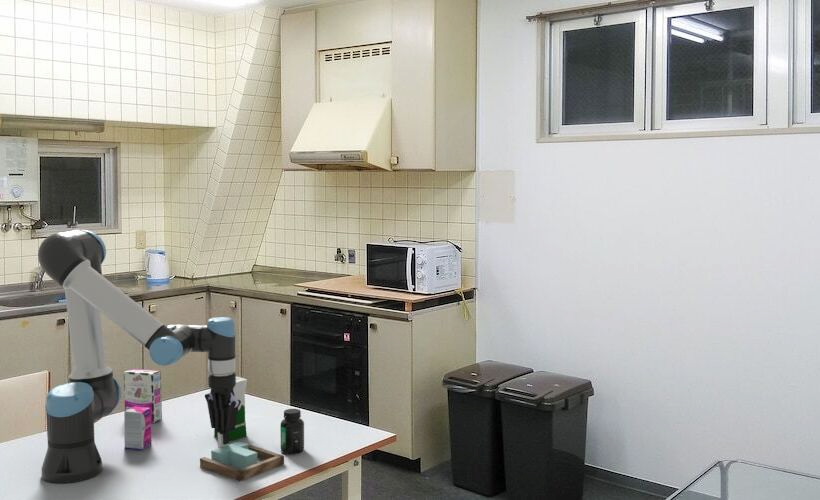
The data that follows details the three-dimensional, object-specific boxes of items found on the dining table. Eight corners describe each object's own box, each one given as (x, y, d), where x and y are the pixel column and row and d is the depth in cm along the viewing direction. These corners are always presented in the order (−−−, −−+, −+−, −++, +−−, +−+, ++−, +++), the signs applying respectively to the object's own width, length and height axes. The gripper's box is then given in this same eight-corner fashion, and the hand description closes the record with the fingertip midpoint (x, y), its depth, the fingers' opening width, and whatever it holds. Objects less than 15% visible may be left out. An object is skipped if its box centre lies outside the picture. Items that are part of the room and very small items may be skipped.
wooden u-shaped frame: (239, 481, 212) (239, 472, 212) (200, 467, 222) (199, 458, 222) (284, 464, 224) (284, 455, 224) (244, 451, 234) (244, 443, 234)
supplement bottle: (282, 455, 231) (281, 415, 230) (279, 448, 238) (279, 408, 236) (305, 453, 233) (305, 413, 232) (302, 446, 239) (302, 406, 238)
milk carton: (231, 430, 254) (230, 367, 252) (251, 435, 248) (250, 372, 246) (209, 437, 247) (208, 373, 245) (229, 443, 241) (228, 378, 239)
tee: (237, 473, 217) (237, 459, 217) (211, 464, 224) (211, 450, 223) (265, 463, 225) (265, 449, 225) (239, 454, 232) (239, 441, 231)
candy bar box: (162, 419, 264) (161, 370, 262) (153, 424, 259) (152, 374, 257) (133, 416, 267) (132, 367, 265) (124, 420, 262) (122, 371, 261)
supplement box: (142, 451, 234) (141, 412, 233) (124, 449, 235) (122, 411, 234) (152, 444, 240) (151, 406, 239) (134, 442, 241) (133, 405, 240)
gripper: (247, 373, 225) (249, 455, 227) (217, 366, 232) (219, 445, 235) (226, 379, 219) (228, 463, 221) (196, 371, 227) (198, 452, 229)
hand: (223, 454), depth 228 cm, fingers closed
